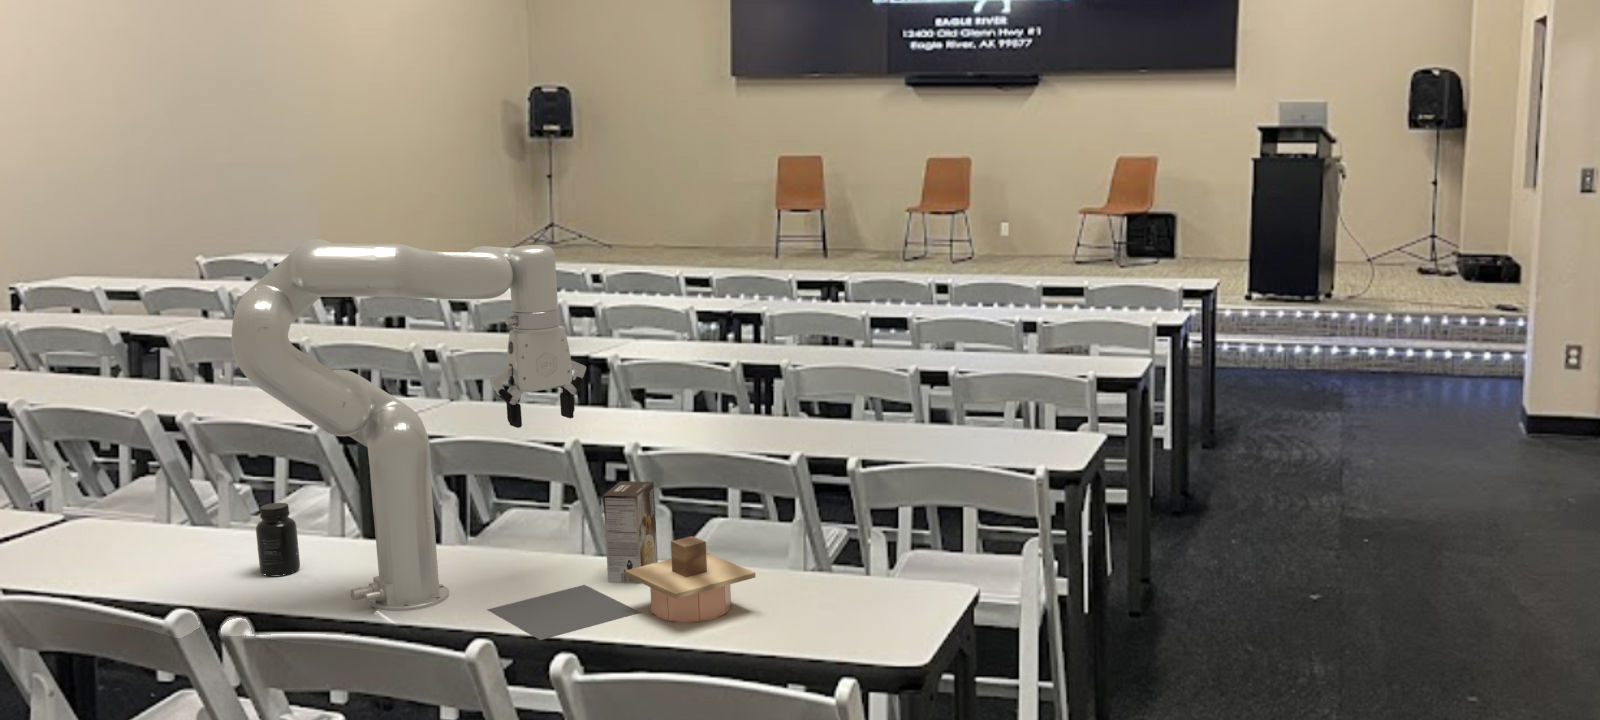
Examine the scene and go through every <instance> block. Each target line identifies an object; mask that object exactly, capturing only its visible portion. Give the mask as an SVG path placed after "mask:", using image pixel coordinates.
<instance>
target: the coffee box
mask: <svg viewBox="0 0 1600 720" xmlns="http://www.w3.org/2000/svg"><path fill="white" fill-rule="evenodd" d="M654 484H655V481H629V480H628V481H626V480H625V481H619V482H617V483H616V484H615V485H614V486H613V487H611V488H610V489H609V490H608V491H606V492H605V493H604V494H603V495H602V498H603V499H602V501H603V516H604V517H603V518H604V529H605V530H604V533H605V547H606V548H605V549H606V551H605V552H606V564H607V565H606V566H607V568H606V569H607V583H610V584H611V583H612V584H613V583H615V584H636V585H637V584H641V585H643V584H642V583H640V582H638V581H636V580H634V579H632V578H629V577H627V576H625V570H629V569H633V568H637V567H641V566H645V565H649V564H653V563H657V562H659V560H658V542H657V540H658V539H657V524H656V506H655V505H656V503H655V501H656V500H655V485H654Z"/></svg>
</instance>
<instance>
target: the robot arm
mask: <svg viewBox="0 0 1600 720" xmlns="http://www.w3.org/2000/svg"><path fill="white" fill-rule="evenodd" d="M555 255H556V253H555V251H554V250H553V248H552V247H550V246H548V245H545V244H544V245H543V244H530V245H529V244H528V245H527V244H526V245H520V246H516V247H501V246H490V245H483V246H481V245H480V246H476V247H473V248H471V249H469V250H468V251H467V252H465V251H464V252H461V251H460V252H456V251H455V252H454V251H453V252H452V251H451V252H449V251H438V250H437V251H435V250H434V251H433V250H427V249H421V248H417V247H413V246H409V245H407V244H401V243H348V242H342V243H341V242H331V241H329V240H325V239H320V238H313V239H309V240H306V241H303V242H302V243H301V244H299V245H298V246H297V247H296V248H295V249H293V250H292V251H291V252H290V253H289V254H288V255H287V256H285V258H283V260H282V261H280V262H279V263H278V264H277V265H276V266H275V267H273V268H272V269H271V270H270V271H269V272H268V273H267V274H265V275H264V276H263V277H262V278H261V279H260V280H258V281H257V282H256V283H255V284H254V285H252V287H250V288H249V289H248V290H247V291H246V292H245V293H244V294H243V295H242V297H240V298H239V301H238V303H237V306H236V308H235V311H234V314H233V319H232V327H231V349H232V354H233V357H234V360H235V362H236V364H237V366H238V368H239V370H240V372H241V373H243V375H244V377H246V378H247V379H248V380H249V381H250V382H251V383H252V384H253V385H255V386H256V387H258V388H259V389H260V390H262V391H263V392H265V393H267V394H268V395H269V396H271V397H273V398H274V399H276V400H277V401H279V402H280V403H282V404H283V405H285V406H286V407H288V408H289V409H291V410H292V411H294V412H296V414H299V415H300V416H301V417H304V418H305V419H306V420H308V421H309V422H311V423H313V424H314V425H316V426H317V427H319V428H320V429H321V430H322V431H324V432H326V433H327V434H330V435H333V436H337V437H350V438H352V439H353V440H354V441H356V442H358V443H359V444H361V445H363V446H364V447H366V448H367V455H368V464H369V465H368V466H369V474H370V475H369V476H370V488H371V498H372V503H371V504H372V512H373V521H374V531H375V533H374V534H375V547H376V554H377V555H376V557H377V568H378V569H377V570H378V575H376V576H373V577H372V580H373V582H371V583H368V585H367V586H364V587H363V586H360V587H356V588H351V590H350V591H349V593H350V597H351V600H352V601H354V602H355V601H357V600H363V599H364V600H365V602H369V601H370V603H371V606H372V608H373V609H377V610H378V609H379V610H382V611H388V612H389V611H390V612H407V611H408V612H409V611H416V610H420V609H421V610H422V609H426V608H427V609H428V608H430V607H434V606H437V605H438V604H441V603H443V602H444V601H446V600H447V599H448V598H449V597H450V588H448V587H447V585H444V584H441V583H440V582H439V581H440V580H439V578H440V577H439V566H438V554H437V541H436V527H435V514H434V513H435V512H434V503H433V502H434V501H433V489H432V488H433V487H432V469H431V467H432V466H431V465H432V464H431V445H430V441H429V435H428V433H427V430H426V427H425V426H424V423H423V421H422V418H421V417H420V415H419V414H418V413H417V412H416V411H415V410H414V409H413V408H412V407H410V406H409V405H407V404H405V403H404V402H402V401H401V400H399V399H398V398H396V397H395V396H393V395H391V394H390V393H388V392H386V391H385V390H384V389H382V388H380V387H379V386H377V385H375V384H374V383H372V382H371V381H369V380H368V379H367V378H365V377H363V376H361V375H359V374H358V373H355V372H353V371H351V370H348V369H347V370H346V369H333V370H332V369H330V368H329V367H327V366H325V365H324V364H322V363H320V362H319V361H318V360H316V359H315V358H313V356H310V355H309V354H307V353H305V352H303V351H301V350H300V349H298V348H297V347H295V346H294V345H293V344H292V342H291V341H290V339H289V332H290V328H291V324H292V323H293V322H294V321H296V320H297V319H298V318H299V317H300V316H301V315H303V313H305V312H306V311H307V310H308V309H309V308H310V307H311V306H313V305H314V304H315V303H316V302H318V300H320V298H321V297H323V298H324V297H325V298H336V297H337V298H349V297H352V298H353V297H356V298H360V297H361V298H363V297H365V298H366V297H368V298H369V297H370V298H373V297H374V298H380V297H381V298H382V297H384V298H406V299H437V300H439V299H440V300H488V299H489V300H490V299H494V298H498V297H500V296H503V295H504V294H505V293H506V292H507V291H508V290H510V299H511V300H510V301H511V302H510V303H511V312H510V316H508V317H507V316H506V317H505V320H504V321H505V324H506V326H511V327H512V329H510V331H509V334H508V335H509V336H508V340H507V351H506V352H507V353H506V367H505V368H503V369H502V370H501V371H500V372H498V373H497V374H496V375H494V376H493V377H492V378H490V380H489V384H490V385H491V386H492V388H493V390H494V391H495V394H496V395H497V396H498V397H499V398H500V399H502V401H503V402H504V403H506V417H507V422H508V423H509V425H510V426H511V427H513V428H517V429H519V428H522V426H523V423H522V422H523V420H522V405H521V404H520V403H518V401H519V400H520V398H521V397H522V395H523V393H532V392H538V391H544V390H550V389H556V388H557V389H558V388H560V389H561V390H562V391H561V392H559V393H560V394H559V400H560V401H559V405H560V415H561V417H565V418H568V419H573V418H574V416H575V415H574V412H575V395H576V394H577V391H578V388H579V387H580V385H582V384H583V383H582V382H583V378H584V376H585V374H586V371H587V366H586V365H584V364H581V363H579V362H577V361H574V360H572V358H571V357H572V356H571V353H570V352H571V351H570V346H569V341H568V338H567V337H568V336H567V333H566V329H565V326H563V325H560V321H559V320H560V319H559V305H558V299H559V298H558V285H557V268H556V256H555ZM573 370H574V373H573ZM506 380H507V383H508V389H507V390H506V389H505V386H503V383H504V382H505V381H506Z"/></svg>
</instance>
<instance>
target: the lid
mask: <svg viewBox="0 0 1600 720" xmlns="http://www.w3.org/2000/svg"><path fill="white" fill-rule="evenodd" d="M670 551H671V552H670V553H671V558H670V559H665V560H661V561H658V562H657V563H653V564H649V565H645V566H641V567H637V568H633V569H629V570H625V576H627V577H629V578H632V579H634V580H636V581H638V582H640V583H642V584H641V585H645V586H647V587H649V588H650V587H651V588H653V589H655V590H658V591H660V592H662V593H664V594H666V595H668V596H671V597H673V598H675V599H678V598H682V597H685V596H689V595H693V594H696V593H700V592H704V591H707V590H711V589H715V588H719V587H722V586H726V585H730V586H731V585H732V584H736V583H740V582H744V581H747V580H751V579H754V578H756V572H755V571H752V570H750V569H747V568H745V567H743V566H740V565H738V564H736V563H732V562H730V561H727V560H726V559H723V558H721V557H718V556H715V555H713V554H710V553H709V552H707V542H706V540H702V539H701V538H698V537H695V536H693V535H691V536H687V537H684V538H678V539H674V540H671V541H670Z"/></svg>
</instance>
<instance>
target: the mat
mask: <svg viewBox="0 0 1600 720" xmlns="http://www.w3.org/2000/svg"><path fill="white" fill-rule="evenodd" d="M486 611H488V612H490V613H492V614H493V615H495V616H497V617H499V618H500V619H502V620H504V621H506V622H507V623H510V624H511V625H513V626H515V627H516V628H518V629H520V630H521V631H523V632H525V633H526V634H528V635H530V636H532V637H533V638H535V639H537V640H538V641H542V640H546V639H550V638H553V637H557V636H560V635H561V636H562V635H564V634H569V633H572V632H576V631H579V630H582V629H583V630H584V629H586V628H590V627H594V626H597V625H602V624H605V623H608V622H612V621H616V620H618V619H619V620H620V619H624V618H626V617H630V616H634V615H638V614H641V613H642V612H641V611H639V610H637V609H635V608H633V607H631V606H629V605H628V604H625V603H623V602H621V601H618V600H616V599H614V598H613V597H610V596H608V595H606V594H604V593H602V592H601V591H598V590H596V589H594V588H592V587H591V586H588V585H586V584H582V585H579V586H574V587H571V588H570V587H569V588H567V589H566V588H565V589H563V590H559V591H555V592H551V593H546V594H542V595H539V596H535V597H531V598H526V599H523V600H520V601H519V600H518V601H515V602H512V603H507V604H503V605H500V606H495V607H492V608H489V609H488V608H487V609H486Z"/></svg>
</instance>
